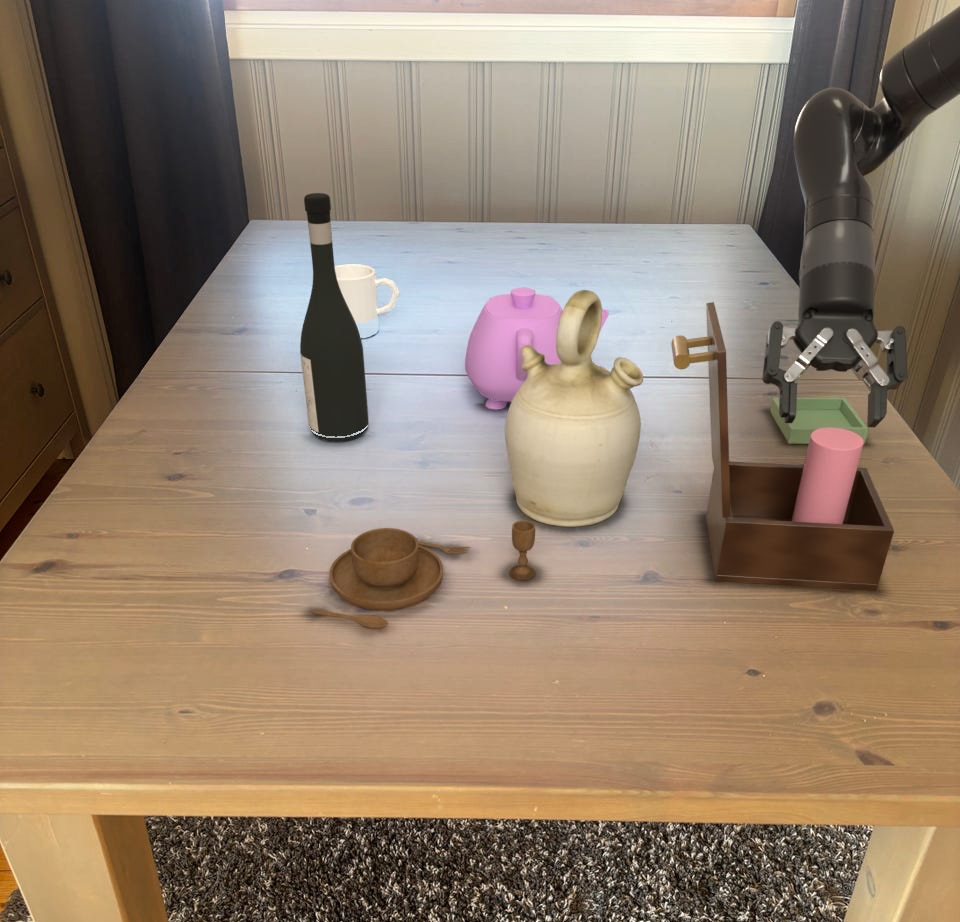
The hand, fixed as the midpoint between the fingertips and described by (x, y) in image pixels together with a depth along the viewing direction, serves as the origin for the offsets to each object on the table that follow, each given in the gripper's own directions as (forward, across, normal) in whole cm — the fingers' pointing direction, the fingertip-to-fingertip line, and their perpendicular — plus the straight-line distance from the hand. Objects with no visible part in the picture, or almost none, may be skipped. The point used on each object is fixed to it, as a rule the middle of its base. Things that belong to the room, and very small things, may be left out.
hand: (832, 422), depth 102 cm
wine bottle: (-5, -59, +25) cm, 64 cm away
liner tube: (+12, 0, +7) cm, 14 cm away
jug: (+6, -27, +14) cm, 31 cm away
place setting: (+21, -41, -1) cm, 46 cm away
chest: (+12, -2, +8) cm, 15 cm away
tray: (-11, +6, +31) cm, 33 cm away
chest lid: (+1, -12, -4) cm, 13 cm away
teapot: (-15, -33, +35) cm, 50 cm away
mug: (-32, -63, +52) cm, 87 cm away
